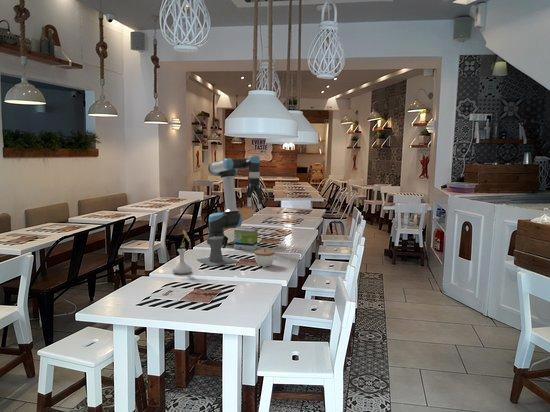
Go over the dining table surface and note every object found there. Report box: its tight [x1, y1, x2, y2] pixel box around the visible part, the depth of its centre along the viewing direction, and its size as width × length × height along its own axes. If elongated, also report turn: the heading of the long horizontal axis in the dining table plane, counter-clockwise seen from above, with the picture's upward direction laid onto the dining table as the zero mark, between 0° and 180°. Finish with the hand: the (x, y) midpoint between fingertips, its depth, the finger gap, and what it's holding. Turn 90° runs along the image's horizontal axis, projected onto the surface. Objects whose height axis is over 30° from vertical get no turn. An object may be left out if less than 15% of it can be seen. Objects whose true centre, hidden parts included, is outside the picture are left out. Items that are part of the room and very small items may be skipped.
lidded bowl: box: [254, 248, 275, 267], centre depth 272 cm, size 13×13×11 cm
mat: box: [196, 254, 239, 268], centre depth 283 cm, size 20×20×1 cm
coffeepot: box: [206, 233, 229, 262], centre depth 282 cm, size 15×9×18 cm, turn 125°
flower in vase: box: [171, 229, 193, 275], centre depth 255 cm, size 13×11×25 cm
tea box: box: [233, 227, 258, 251], centre depth 319 cm, size 15×10×15 cm, turn 73°
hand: (254, 207), depth 309 cm, fingers open, 13 cm apart
